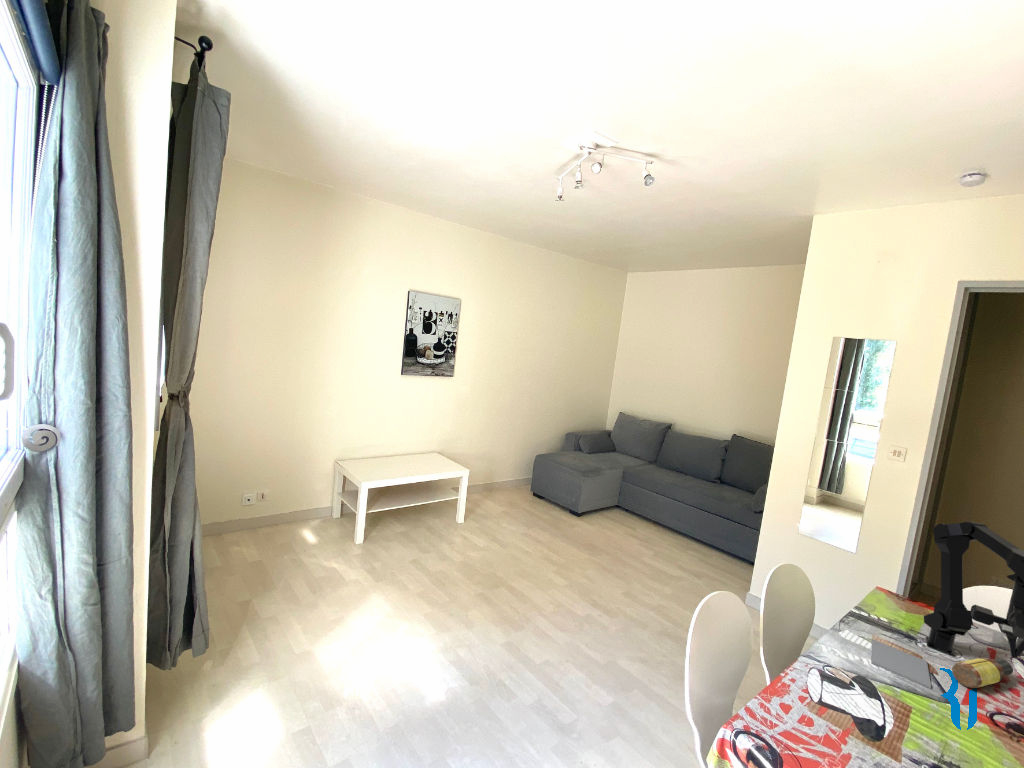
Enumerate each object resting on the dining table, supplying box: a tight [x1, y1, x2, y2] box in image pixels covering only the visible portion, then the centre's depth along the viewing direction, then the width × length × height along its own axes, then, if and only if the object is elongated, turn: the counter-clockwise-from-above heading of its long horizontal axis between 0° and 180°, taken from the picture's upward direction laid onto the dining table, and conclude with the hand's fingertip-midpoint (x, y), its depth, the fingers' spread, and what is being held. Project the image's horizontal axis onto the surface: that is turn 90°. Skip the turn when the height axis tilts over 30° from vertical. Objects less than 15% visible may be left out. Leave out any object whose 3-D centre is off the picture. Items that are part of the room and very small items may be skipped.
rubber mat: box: [870, 638, 932, 690], centre depth 134 cm, size 15×13×1 cm
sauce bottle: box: [951, 657, 1014, 689], centre depth 130 cm, size 7×6×20 cm
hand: (1013, 657), depth 124 cm, fingers closed
